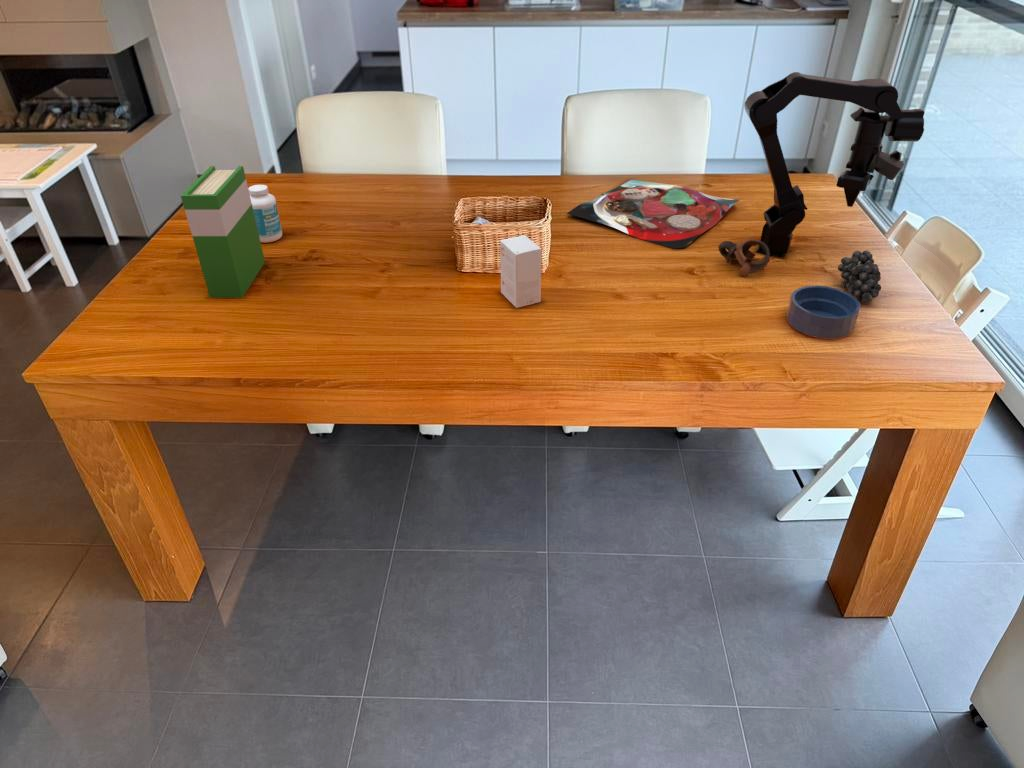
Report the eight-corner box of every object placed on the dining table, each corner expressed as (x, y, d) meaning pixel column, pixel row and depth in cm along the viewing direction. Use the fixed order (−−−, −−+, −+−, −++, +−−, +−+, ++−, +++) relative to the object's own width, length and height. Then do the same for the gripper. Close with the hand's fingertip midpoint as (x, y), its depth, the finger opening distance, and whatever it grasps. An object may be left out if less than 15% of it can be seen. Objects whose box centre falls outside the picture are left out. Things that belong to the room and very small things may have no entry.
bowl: (778, 330, 153) (784, 307, 150) (794, 302, 162) (800, 280, 159) (846, 347, 147) (853, 324, 144) (858, 318, 157) (866, 295, 153)
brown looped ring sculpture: (764, 261, 179) (777, 242, 172) (754, 292, 176) (768, 273, 168) (717, 244, 180) (728, 223, 173) (706, 274, 177) (718, 254, 169)
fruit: (887, 273, 153) (873, 241, 165) (844, 281, 156) (833, 249, 168) (889, 308, 158) (876, 275, 169) (847, 316, 161) (837, 282, 172)
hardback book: (235, 262, 181) (210, 166, 167) (265, 262, 181) (243, 166, 166) (209, 297, 166) (180, 195, 152) (242, 297, 166) (216, 195, 152)
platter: (630, 179, 222) (631, 173, 221) (739, 207, 205) (740, 200, 204) (565, 216, 200) (565, 210, 199) (681, 251, 183) (682, 244, 182)
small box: (541, 302, 163) (542, 248, 156) (515, 308, 161) (515, 254, 153) (525, 286, 169) (525, 234, 161) (500, 292, 167) (499, 239, 159)
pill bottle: (272, 245, 188) (261, 194, 180) (247, 241, 190) (235, 191, 182) (288, 233, 194) (278, 184, 186) (264, 230, 196) (253, 180, 188)
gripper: (900, 158, 156) (879, 227, 165) (912, 134, 169) (892, 199, 178) (845, 150, 161) (827, 217, 170) (861, 127, 173) (844, 191, 183)
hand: (849, 206), depth 175 cm, fingers closed
